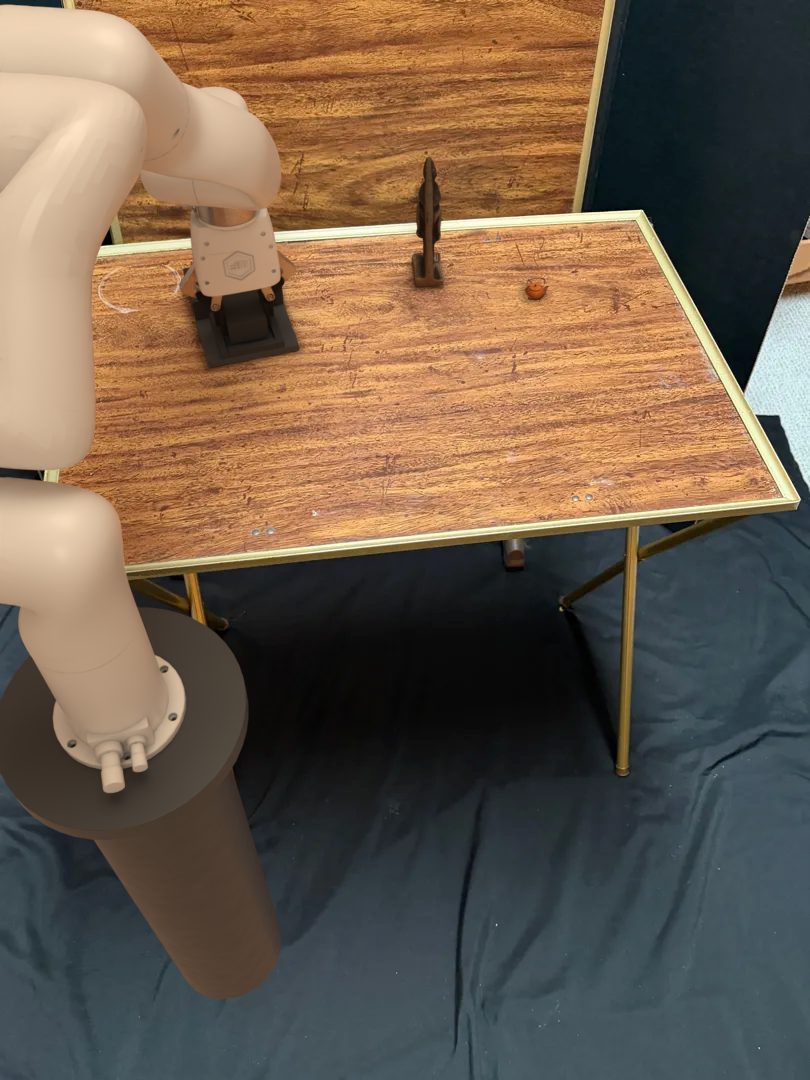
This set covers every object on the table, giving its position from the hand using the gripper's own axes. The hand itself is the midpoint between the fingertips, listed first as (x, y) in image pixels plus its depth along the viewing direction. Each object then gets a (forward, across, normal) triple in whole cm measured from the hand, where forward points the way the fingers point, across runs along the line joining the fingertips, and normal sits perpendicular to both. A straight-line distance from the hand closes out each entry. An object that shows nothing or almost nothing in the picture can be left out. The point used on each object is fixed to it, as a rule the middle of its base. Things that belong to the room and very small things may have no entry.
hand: (245, 322), depth 127 cm
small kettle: (+2, +40, -3) cm, 40 cm away
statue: (+2, +27, +5) cm, 28 cm away
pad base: (+2, 0, +3) cm, 4 cm away
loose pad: (+1, 0, 0) cm, 1 cm away
